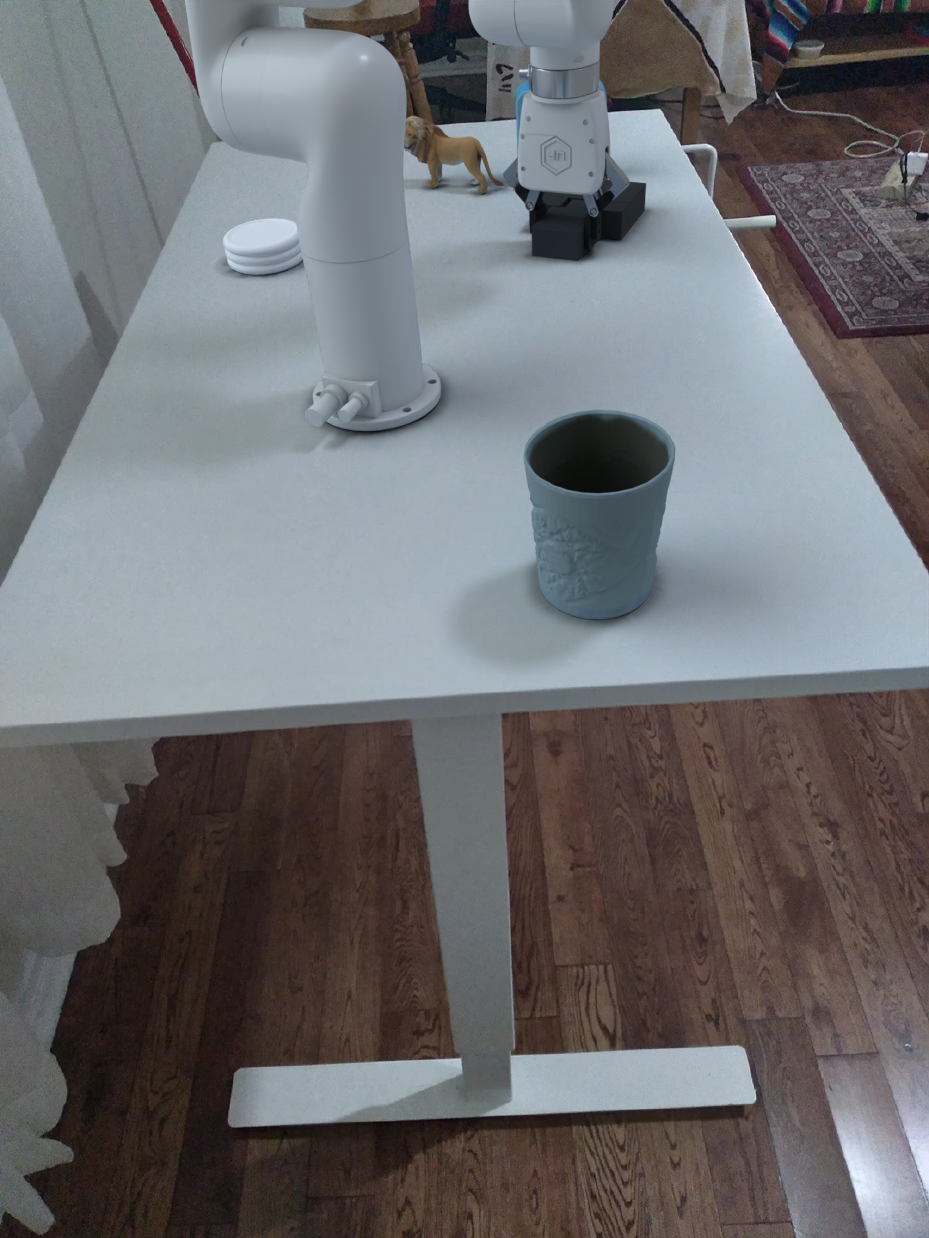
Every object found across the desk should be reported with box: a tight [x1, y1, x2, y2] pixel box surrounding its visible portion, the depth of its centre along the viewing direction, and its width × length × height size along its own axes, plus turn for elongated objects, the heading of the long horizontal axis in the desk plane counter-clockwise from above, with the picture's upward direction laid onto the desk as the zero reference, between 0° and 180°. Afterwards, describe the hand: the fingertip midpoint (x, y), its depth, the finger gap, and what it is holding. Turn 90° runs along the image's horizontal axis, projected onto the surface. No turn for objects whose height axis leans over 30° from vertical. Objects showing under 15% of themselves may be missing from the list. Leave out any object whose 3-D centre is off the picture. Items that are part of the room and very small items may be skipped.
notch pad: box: [542, 179, 647, 241], centre depth 123 cm, size 10×12×4 cm
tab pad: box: [530, 199, 588, 262], centre depth 119 cm, size 10×6×4 cm, turn 155°
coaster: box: [222, 217, 303, 276], centre depth 121 cm, size 10×10×4 cm
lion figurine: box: [404, 115, 504, 195], centre depth 134 cm, size 15×5×9 cm, turn 70°
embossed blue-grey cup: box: [523, 409, 676, 620], centre depth 69 cm, size 10×10×12 cm
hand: (565, 241), depth 118 cm, fingers closed on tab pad, 5 cm apart
